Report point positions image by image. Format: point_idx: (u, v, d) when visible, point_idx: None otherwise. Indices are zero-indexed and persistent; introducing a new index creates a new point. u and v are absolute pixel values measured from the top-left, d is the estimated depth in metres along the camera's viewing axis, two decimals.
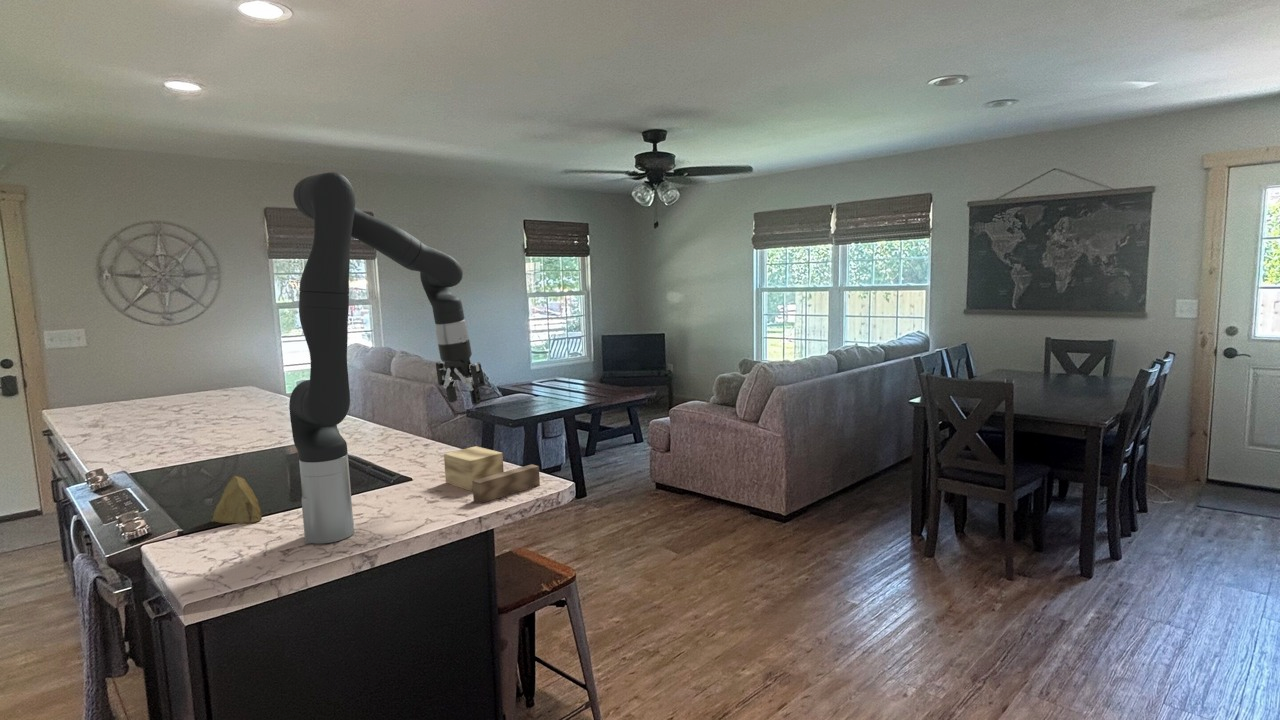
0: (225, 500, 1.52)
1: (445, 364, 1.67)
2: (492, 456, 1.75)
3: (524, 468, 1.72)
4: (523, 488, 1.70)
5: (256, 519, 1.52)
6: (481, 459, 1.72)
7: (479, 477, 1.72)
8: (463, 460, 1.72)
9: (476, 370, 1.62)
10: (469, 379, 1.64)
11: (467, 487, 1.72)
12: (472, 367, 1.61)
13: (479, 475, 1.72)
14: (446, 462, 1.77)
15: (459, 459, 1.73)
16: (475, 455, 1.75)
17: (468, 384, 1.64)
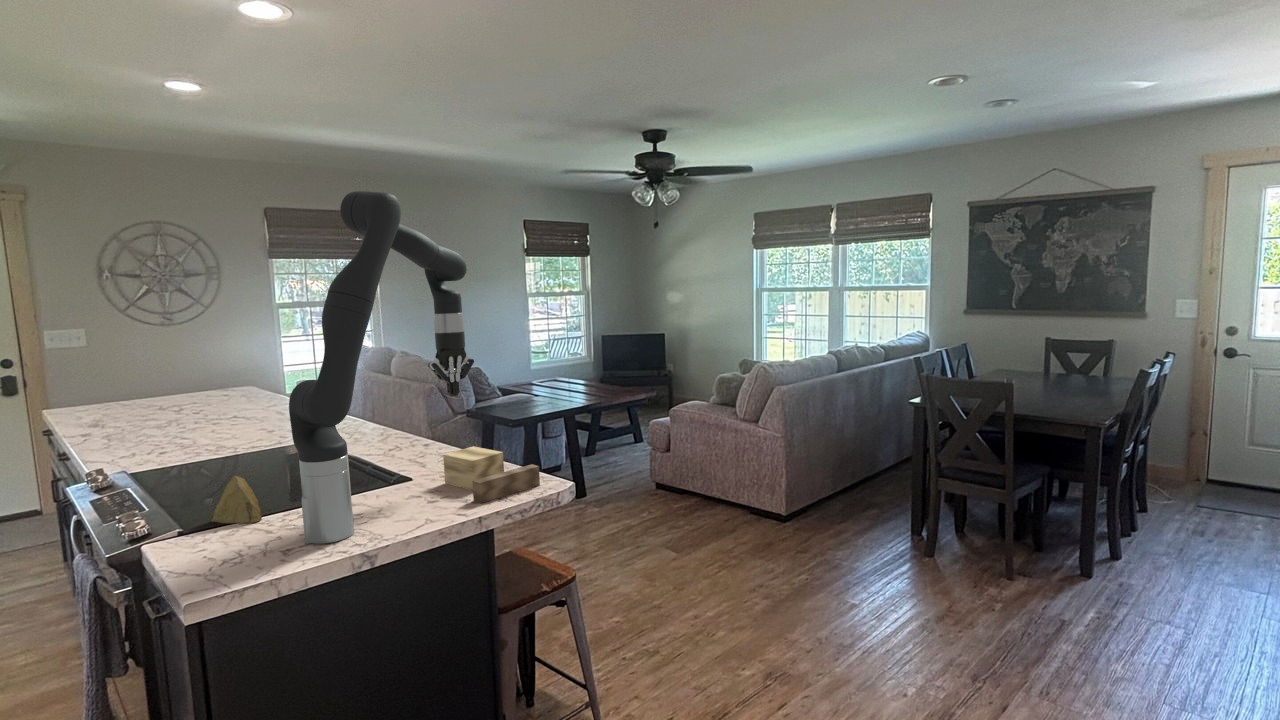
0: (225, 500, 1.52)
1: (441, 355, 1.74)
2: (493, 456, 1.75)
3: (524, 468, 1.72)
4: (523, 488, 1.70)
5: (256, 519, 1.52)
6: (483, 459, 1.72)
7: (481, 477, 1.72)
8: (465, 460, 1.72)
9: None
10: None
11: (469, 487, 1.72)
12: (472, 361, 1.81)
13: (480, 475, 1.72)
14: (446, 463, 1.77)
15: (460, 459, 1.73)
16: (476, 455, 1.75)
17: (457, 374, 1.78)
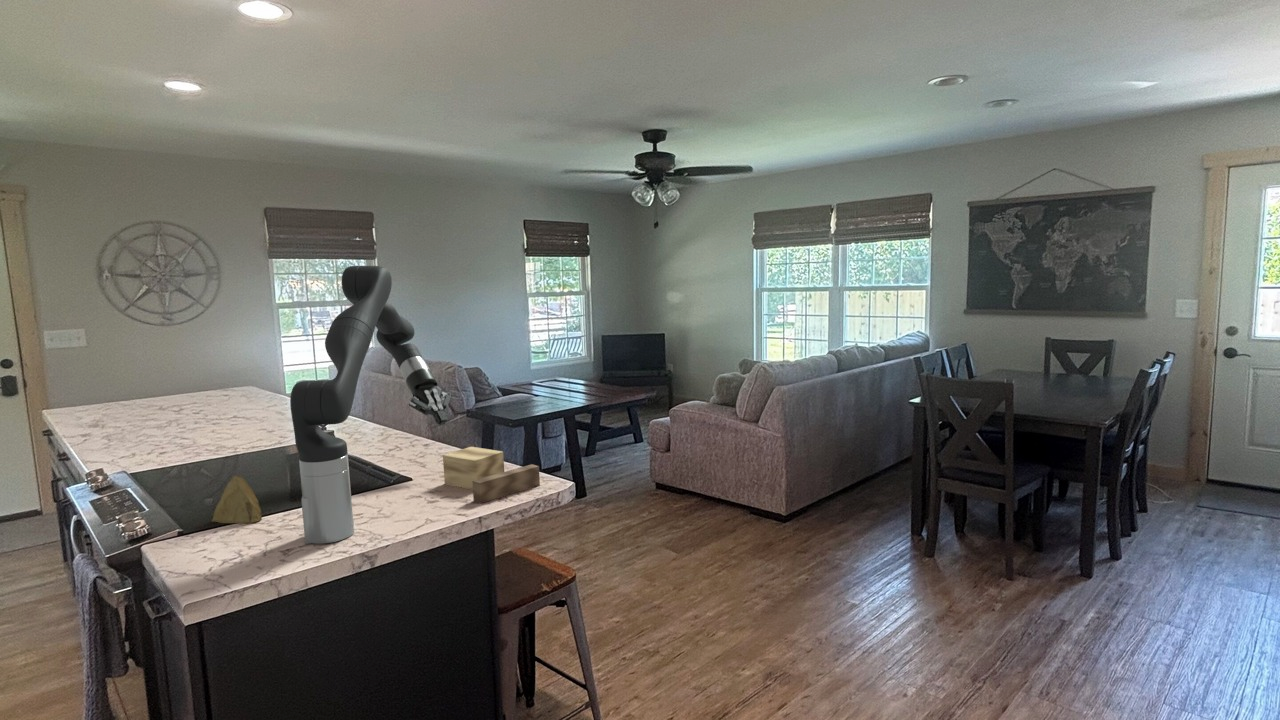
0: (225, 500, 1.52)
1: (417, 392, 1.87)
2: (494, 455, 1.76)
3: (524, 468, 1.72)
4: (523, 488, 1.70)
5: (256, 519, 1.52)
6: (484, 458, 1.73)
7: (483, 476, 1.72)
8: (466, 460, 1.72)
9: (449, 398, 1.93)
10: None
11: (471, 487, 1.72)
12: (450, 393, 1.93)
13: (482, 474, 1.72)
14: (445, 463, 1.76)
15: (461, 459, 1.73)
16: (476, 455, 1.75)
17: (439, 404, 1.88)
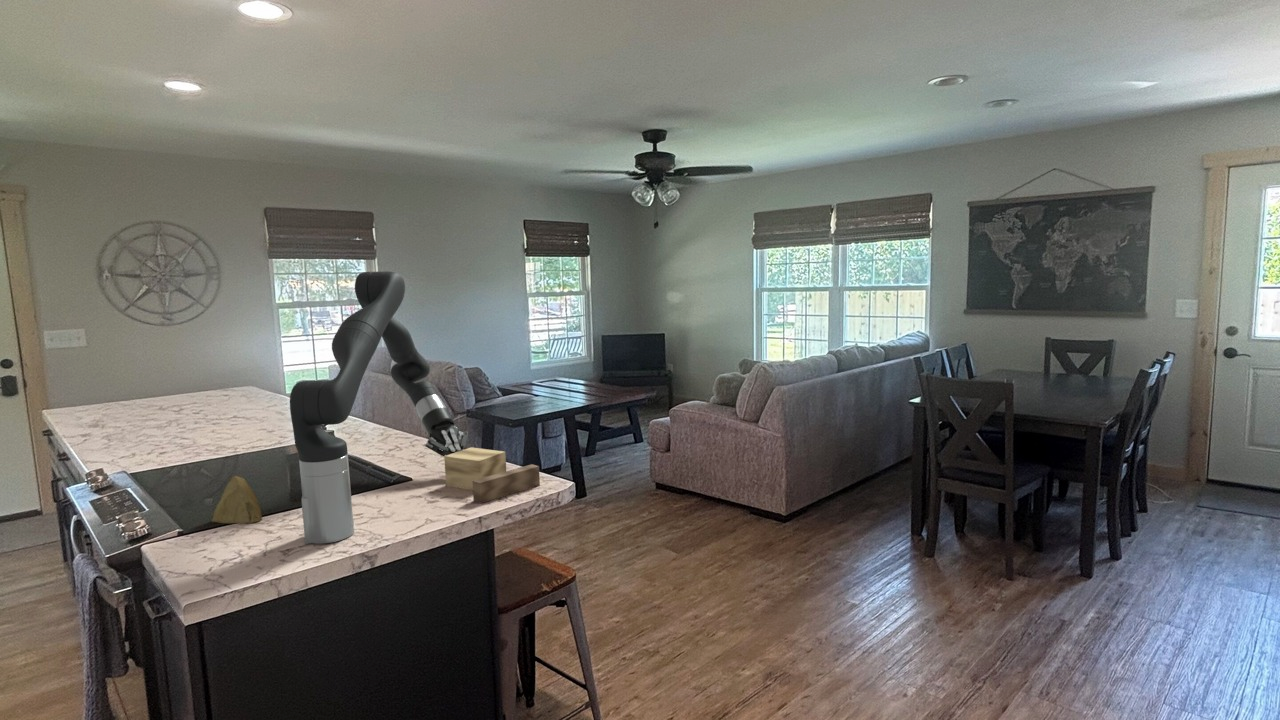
0: (225, 500, 1.52)
1: (433, 432, 1.83)
2: (497, 455, 1.75)
3: (524, 468, 1.72)
4: (523, 488, 1.70)
5: (256, 519, 1.52)
6: (488, 459, 1.72)
7: None
8: (470, 461, 1.71)
9: (466, 437, 1.88)
10: None
11: None
12: (467, 433, 1.88)
13: (486, 475, 1.72)
14: (447, 464, 1.75)
15: (464, 460, 1.72)
16: (479, 455, 1.75)
17: (456, 445, 1.84)
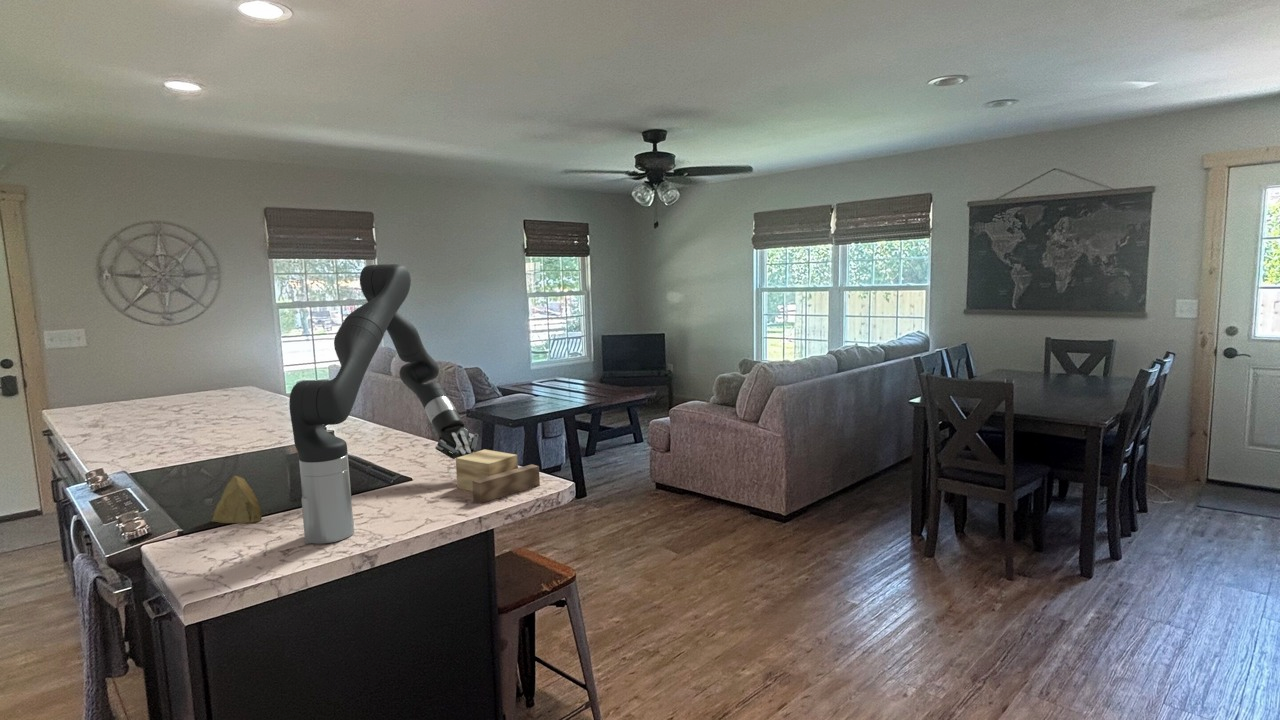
0: (225, 500, 1.52)
1: (443, 435, 1.79)
2: (508, 458, 1.72)
3: (524, 468, 1.72)
4: (523, 488, 1.70)
5: (256, 519, 1.52)
6: (498, 462, 1.69)
7: None
8: (480, 463, 1.68)
9: None
10: None
11: None
12: (477, 435, 1.85)
13: None
14: (458, 466, 1.72)
15: (475, 462, 1.69)
16: (490, 458, 1.71)
17: (467, 447, 1.81)
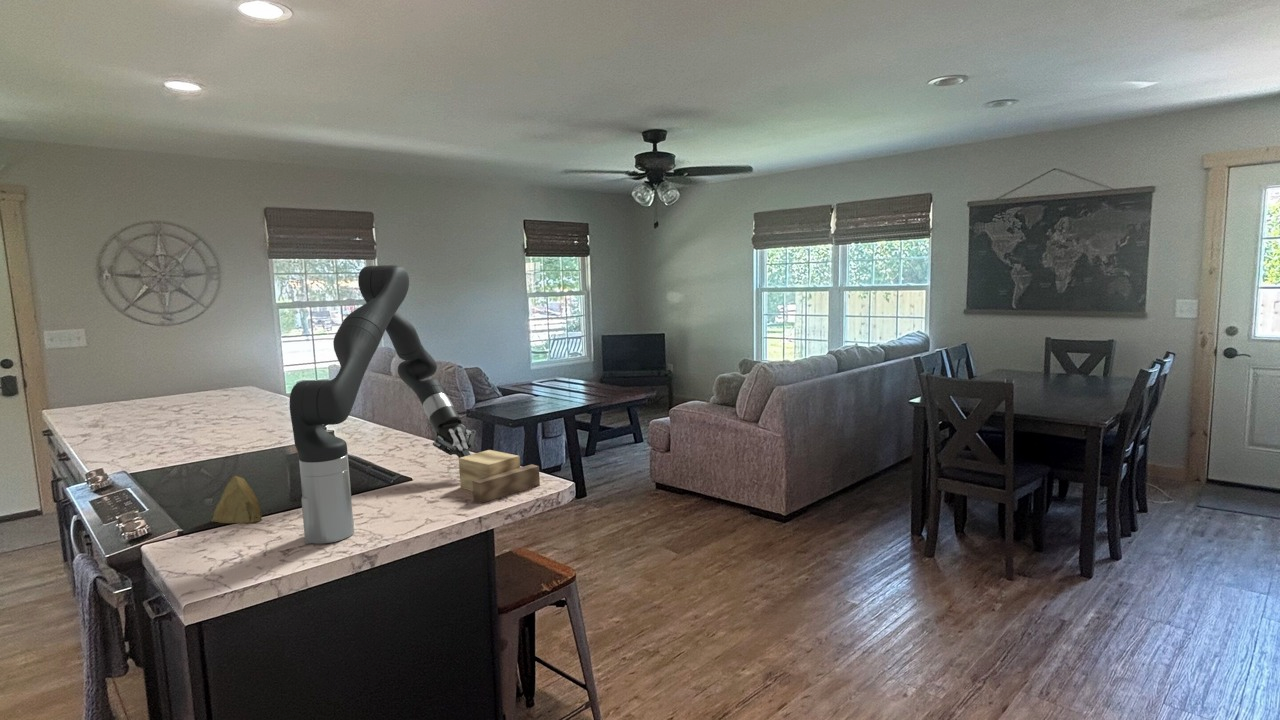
0: (225, 500, 1.52)
1: (441, 431, 1.81)
2: (510, 459, 1.71)
3: (524, 468, 1.72)
4: (523, 488, 1.70)
5: (256, 519, 1.52)
6: (499, 463, 1.68)
7: None
8: (481, 464, 1.67)
9: None
10: None
11: None
12: (474, 431, 1.86)
13: None
14: (461, 466, 1.73)
15: (476, 463, 1.69)
16: (492, 459, 1.71)
17: (464, 443, 1.82)
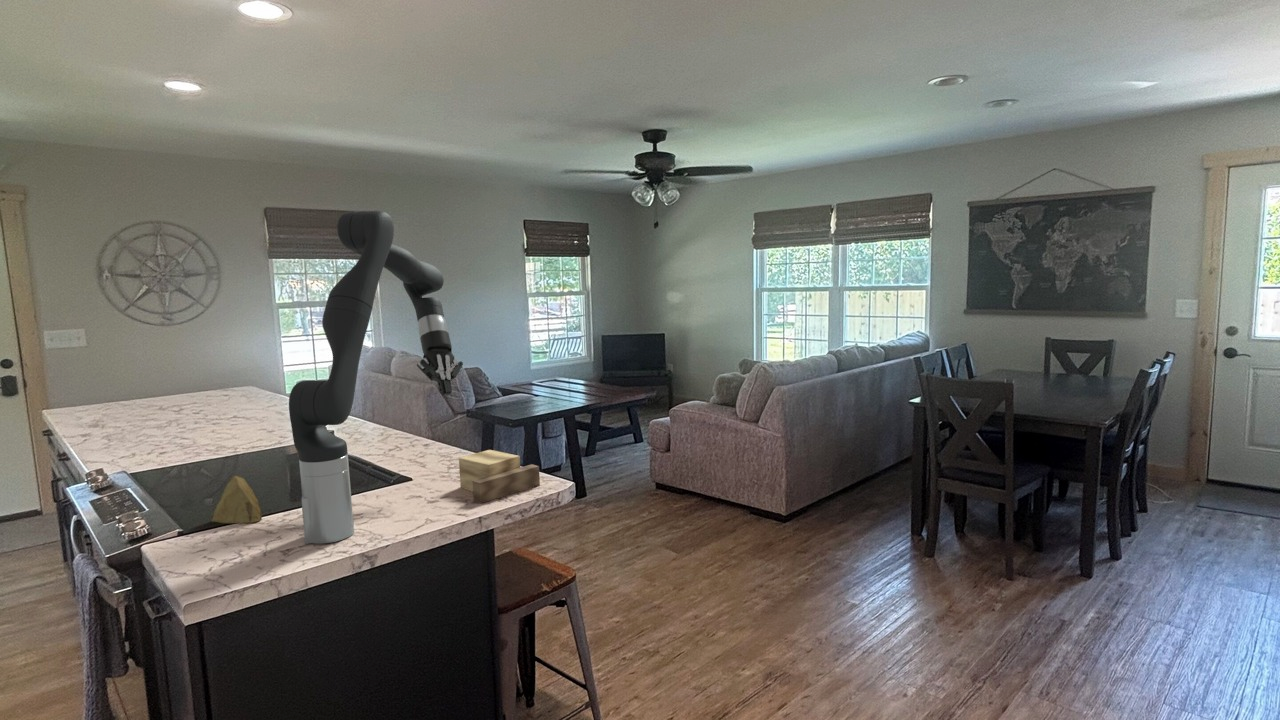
0: (225, 500, 1.52)
1: (428, 354, 1.75)
2: (510, 459, 1.71)
3: (524, 468, 1.72)
4: (523, 488, 1.70)
5: (256, 519, 1.52)
6: (499, 463, 1.68)
7: None
8: (481, 464, 1.67)
9: None
10: None
11: None
12: (461, 363, 1.81)
13: None
14: (461, 466, 1.73)
15: (476, 463, 1.69)
16: (492, 459, 1.71)
17: (448, 373, 1.77)
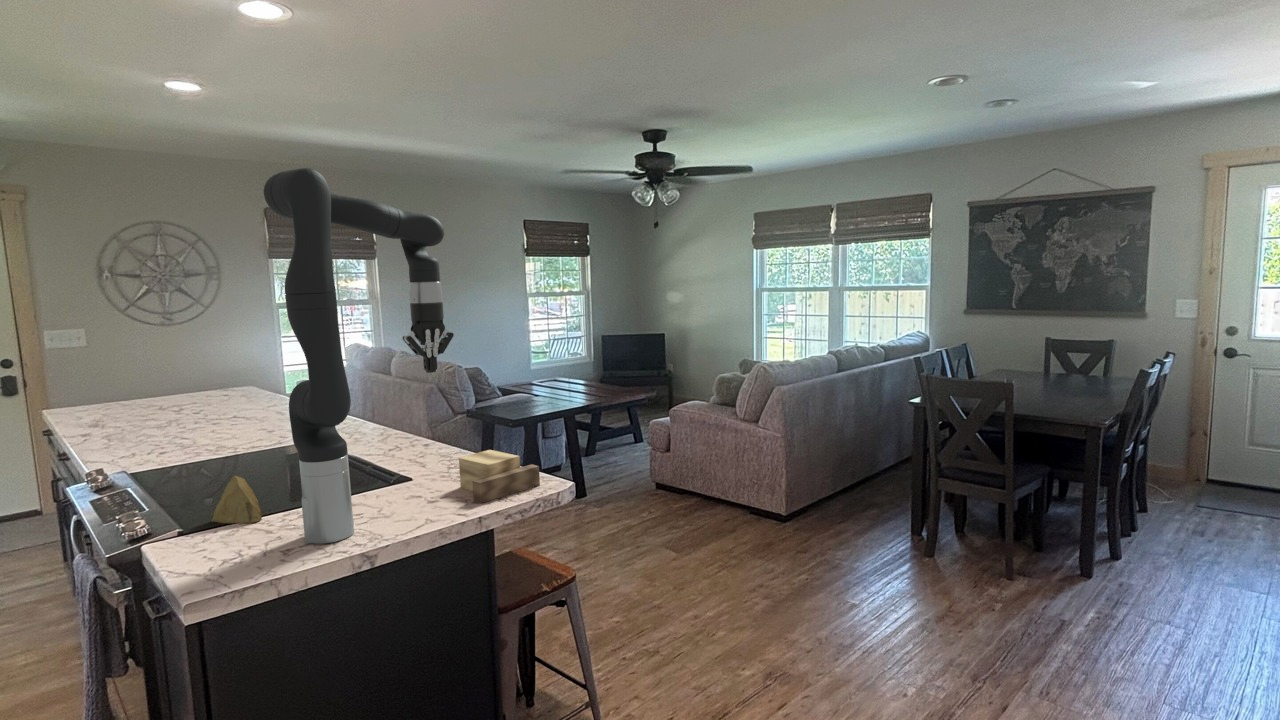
0: (225, 500, 1.52)
1: (417, 328, 1.60)
2: (509, 459, 1.71)
3: (524, 468, 1.72)
4: (523, 488, 1.70)
5: (256, 519, 1.52)
6: (499, 463, 1.68)
7: None
8: (480, 464, 1.67)
9: None
10: None
11: None
12: (452, 335, 1.67)
13: None
14: (461, 466, 1.73)
15: (476, 463, 1.69)
16: (492, 459, 1.71)
17: (435, 349, 1.63)
